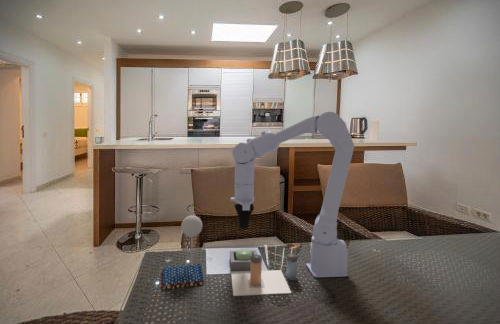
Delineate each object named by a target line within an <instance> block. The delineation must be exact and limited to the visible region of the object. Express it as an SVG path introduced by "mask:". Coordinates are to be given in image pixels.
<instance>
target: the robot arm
mask: <svg viewBox="0 0 500 324" xmlns="http://www.w3.org/2000/svg"><path fill="white" fill-rule="evenodd" d="M347 126H348V125H347V124H346V122H345V121H344V119H343V118H342V117H341V116H340V115H339V114H338V113H336V112H334V111H325V112H323V113H321V114H320V115H319V114H316V115H313V116H309V117H308V118H305V119H303V120H300V121H298V122H297V123H294V124H293V125H290V126H288V127H286V128H284V129H282V130H280V131H277V132H276V133H275V132H273V131H265V130H264V131H262V132H260V135H258V136H256V137H253V138H247V139H246V142H239V143H238V144H236V145H235V146H234V148H233V149H232V157H233V159H234V197H233V196H232V197H230V201H231V202H234V208H235V211H236V213H237V217H238V218H237V219H238V225H239V228H240V230H243V229H244V230H247V229H248V227H249V223H250V218H251V215H252V213H253V211H254V209H255V207H254V204H253V203H254V202H255V197H254V196H255V192H254V191H255V160H256V159H257V158H261V157H263V156H265V155H268V154H270V153H273V152H275V151H277V150H279V146H280V145H281V144H282V143H284V142H286V141H289V140H292V139H294V138H296V137H300V136H302V135H304V134H318V133H319V134H321V135H322V136H323V137H325V138H326V139H328V140H329V143H330V145H332V147H333V148H334V150H335V151H334V155H333V160H332V164H331V168H330V171H329V175H328V176H329V177H328V179H327V180H328V181H327V185H326V188H325V193H324V197H323V200H322V204H321V209H320V212H319V214H317V216H316V218H315V219H314V225H313V228H312V236H311V248H310V262H308V263H306V264H305V266H306V267H307V269H308V270H309V272H310V273H311V275H312V276H313V277H314V278H317V279H318V278H336V277H337V278H339V277H340V278H343V277H348V276H349V275H348V273H347V272H348V258H349V257H348V254H349V253H348V252H349V251H348V246H347V243H346V242H345V241H344V240H343V239H339V238H338V230H337V226H338V222H337V221H338V215H339V210H340V206H341V203H342V197H343V194H344V190H345V187H346V186H345V185H346V181H347V178H348V174H349V171H350V170H349V169H350V165H351V162H352V157H353V153H354V150H355V144H354V142H353V138H352V136H351V134H350V131H349V129H348V127H347Z"/></svg>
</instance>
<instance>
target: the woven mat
mask: <svg viewBox="0 0 500 324" xmlns="http://www.w3.org/2000/svg"><path fill="white" fill-rule="evenodd" d="M203 275H204V274H203V271H202V266H201V263H193V264H192V265H191V264H189V263H187V264H185V265H184V264H182V265H178V264H177V265H175V266H173V265H171V266H165V267H163V269H162V271H161V281H162V282H161V285H160V286H161V288H162V290H166V289H168V290H169V289H175V288H177V289H178V288H180V286H181V288H184V287H189V286H190V287H193V286H195V287H197V286H198V284H199V285H200V286H203V283H205V281H204V276H203Z"/></svg>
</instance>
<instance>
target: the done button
mask: <svg viewBox="0 0 500 324" xmlns="http://www.w3.org/2000/svg"><path fill="white" fill-rule="evenodd" d="M236 251H237V252H236V260H250V257H251V256H252V251H250V250H249V249H239V250H236ZM236 260H235V261H236Z"/></svg>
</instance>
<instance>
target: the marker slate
mask: <svg viewBox="0 0 500 324" xmlns="http://www.w3.org/2000/svg"><path fill="white" fill-rule="evenodd" d="M285 273H286V274H285V279H287V280H289V281H295V280H297V278H298V277H297V276H298V255H297V254H295V253H288V254H286V272H285Z"/></svg>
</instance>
